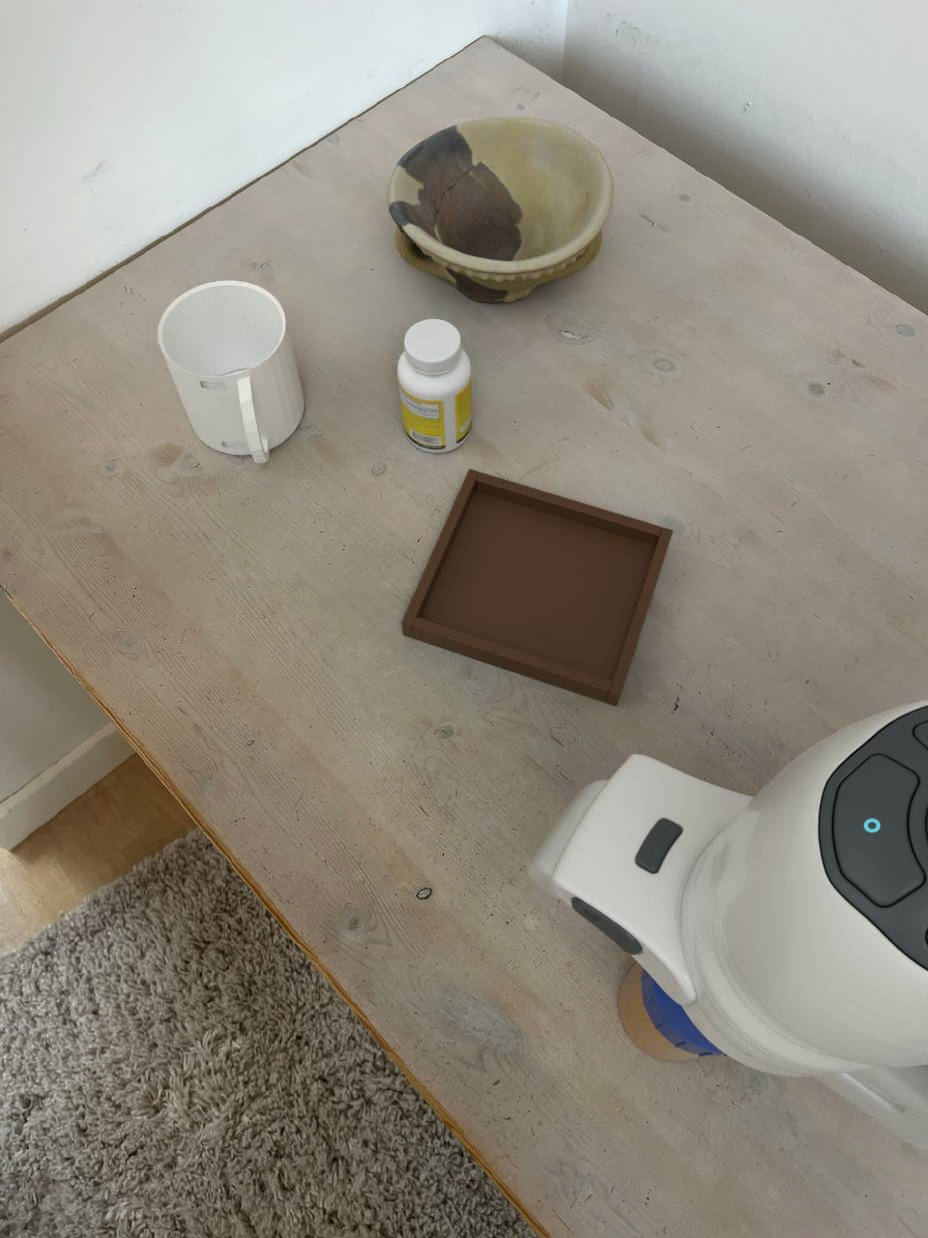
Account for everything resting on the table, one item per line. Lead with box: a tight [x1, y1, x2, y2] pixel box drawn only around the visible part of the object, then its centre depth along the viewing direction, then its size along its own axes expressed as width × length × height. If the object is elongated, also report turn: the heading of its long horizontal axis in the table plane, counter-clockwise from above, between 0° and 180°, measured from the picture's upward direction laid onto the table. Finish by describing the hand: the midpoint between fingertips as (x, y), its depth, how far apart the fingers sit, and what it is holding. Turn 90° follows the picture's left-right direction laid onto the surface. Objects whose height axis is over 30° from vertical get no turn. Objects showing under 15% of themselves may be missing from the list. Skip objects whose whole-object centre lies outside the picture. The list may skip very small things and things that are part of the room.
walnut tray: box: [401, 468, 674, 707], centre depth 69 cm, size 16×14×2 cm
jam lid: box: [640, 968, 728, 1058], centre depth 48 cm, size 6×6×3 cm
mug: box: [157, 279, 305, 465], centre depth 73 cm, size 12×9×9 cm
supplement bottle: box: [396, 318, 473, 454], centre depth 73 cm, size 5×5×10 cm
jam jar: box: [617, 961, 701, 1063], centre depth 52 cm, size 6×6×12 cm
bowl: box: [386, 115, 615, 304], centre depth 80 cm, size 18×18×10 cm
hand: (706, 986), depth 48 cm, fingers closed on jam lid, 6 cm apart
